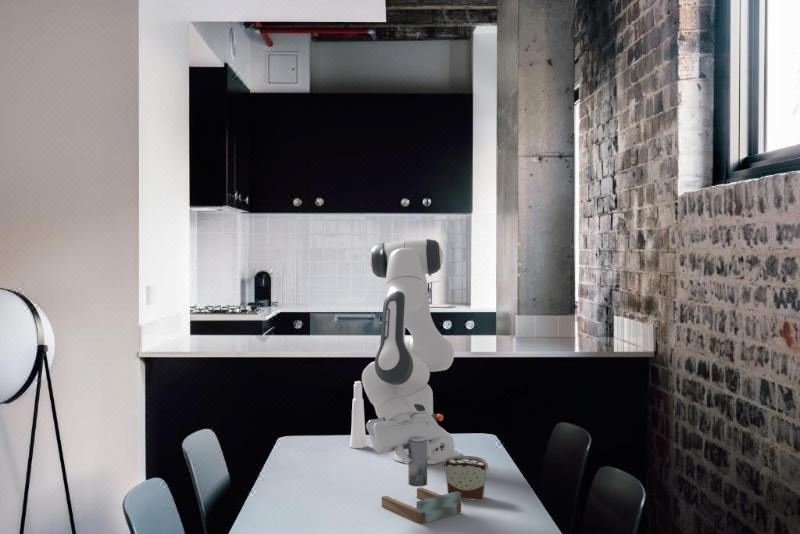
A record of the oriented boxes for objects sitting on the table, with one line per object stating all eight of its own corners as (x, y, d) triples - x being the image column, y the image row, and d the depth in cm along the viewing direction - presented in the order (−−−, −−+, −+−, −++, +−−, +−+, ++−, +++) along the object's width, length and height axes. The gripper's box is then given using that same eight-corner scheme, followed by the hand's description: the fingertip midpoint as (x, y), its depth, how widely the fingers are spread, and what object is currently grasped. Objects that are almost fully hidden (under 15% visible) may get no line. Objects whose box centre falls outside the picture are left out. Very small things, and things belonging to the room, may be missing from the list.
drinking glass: (419, 479, 192) (419, 435, 192) (431, 484, 188) (431, 438, 188) (404, 483, 189) (404, 437, 189) (416, 487, 185) (416, 441, 185)
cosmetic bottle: (370, 446, 252) (370, 381, 252) (357, 449, 248) (356, 383, 248) (359, 443, 257) (359, 379, 256) (345, 446, 253) (345, 381, 252)
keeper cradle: (421, 496, 199) (421, 477, 198) (461, 512, 186) (461, 492, 186) (381, 506, 191) (381, 487, 191) (420, 523, 178) (420, 503, 178)
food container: (493, 494, 200) (493, 457, 200) (488, 501, 194) (488, 463, 194) (449, 489, 204) (448, 453, 204) (442, 496, 198) (442, 459, 198)
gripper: (368, 413, 188) (391, 460, 180) (431, 404, 200) (455, 448, 193) (358, 428, 192) (380, 474, 184) (420, 418, 204) (443, 461, 196)
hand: (419, 460), depth 188 cm, fingers closed on drinking glass, 5 cm apart
